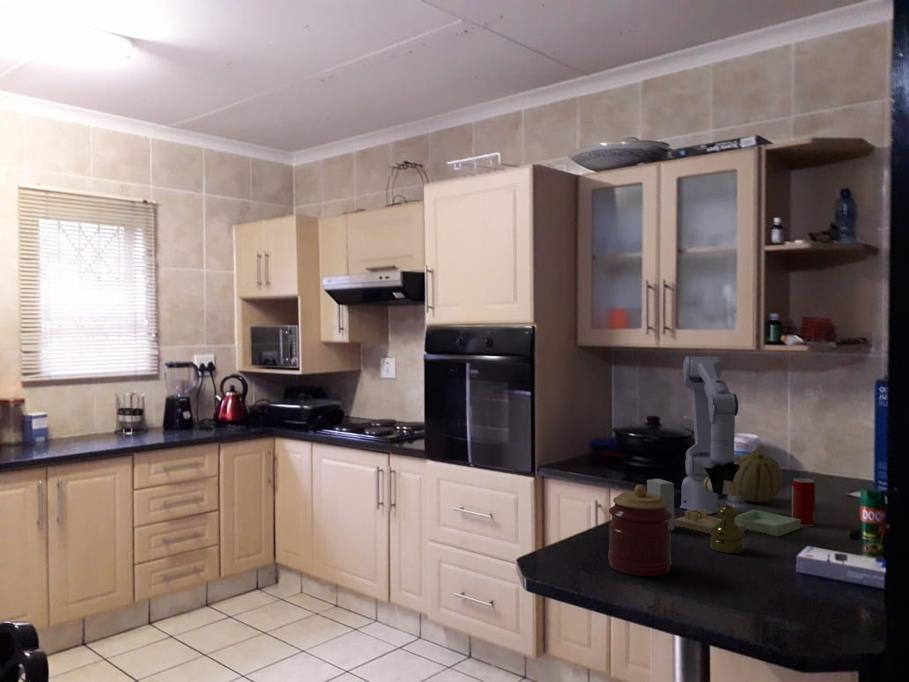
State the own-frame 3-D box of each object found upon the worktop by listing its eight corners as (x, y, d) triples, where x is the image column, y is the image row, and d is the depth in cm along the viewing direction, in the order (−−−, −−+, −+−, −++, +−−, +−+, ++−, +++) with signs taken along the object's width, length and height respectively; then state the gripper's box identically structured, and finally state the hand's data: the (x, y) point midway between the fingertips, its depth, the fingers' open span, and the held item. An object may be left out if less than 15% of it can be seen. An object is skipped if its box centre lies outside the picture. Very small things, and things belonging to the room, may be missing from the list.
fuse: (703, 491, 181) (703, 477, 181) (710, 489, 183) (710, 476, 183) (733, 497, 175) (733, 483, 175) (740, 495, 177) (740, 481, 177)
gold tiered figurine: (728, 556, 156) (729, 512, 156) (703, 546, 163) (703, 504, 163) (751, 551, 160) (752, 508, 159) (725, 542, 166) (726, 501, 166)
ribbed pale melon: (757, 494, 218) (758, 447, 217) (794, 505, 204) (795, 455, 203) (719, 497, 213) (719, 449, 213) (753, 509, 199) (754, 457, 199)
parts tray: (728, 525, 182) (728, 516, 182) (752, 517, 190) (752, 509, 190) (777, 536, 172) (777, 527, 172) (800, 528, 180) (800, 519, 180)
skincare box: (675, 530, 176) (675, 482, 176) (660, 531, 175) (661, 484, 175) (660, 524, 182) (660, 478, 182) (645, 525, 181) (646, 479, 180)
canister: (661, 582, 139) (662, 494, 139) (599, 570, 146) (600, 486, 146) (677, 564, 150) (679, 483, 150) (619, 553, 157) (620, 476, 157)
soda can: (817, 527, 181) (818, 481, 181) (794, 526, 182) (795, 480, 182) (811, 521, 186) (811, 477, 186) (789, 520, 187) (789, 476, 187)
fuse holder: (674, 525, 181) (674, 511, 181) (695, 519, 187) (695, 505, 187) (724, 537, 170) (725, 523, 170) (745, 531, 176) (745, 516, 176)
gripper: (721, 444, 171) (720, 499, 171) (751, 439, 180) (750, 491, 180) (696, 441, 177) (695, 494, 177) (726, 436, 186) (725, 486, 186)
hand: (721, 492), depth 179 cm, fingers closed on fuse, 3 cm apart
